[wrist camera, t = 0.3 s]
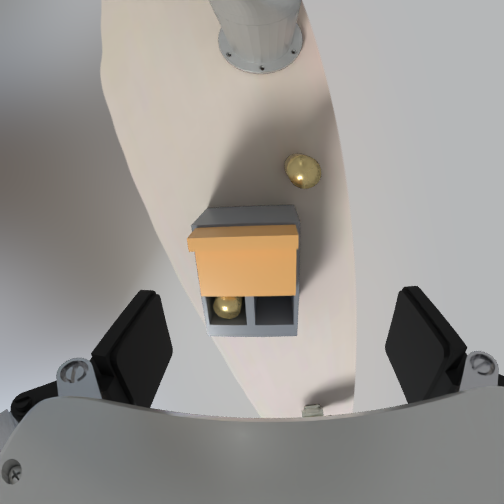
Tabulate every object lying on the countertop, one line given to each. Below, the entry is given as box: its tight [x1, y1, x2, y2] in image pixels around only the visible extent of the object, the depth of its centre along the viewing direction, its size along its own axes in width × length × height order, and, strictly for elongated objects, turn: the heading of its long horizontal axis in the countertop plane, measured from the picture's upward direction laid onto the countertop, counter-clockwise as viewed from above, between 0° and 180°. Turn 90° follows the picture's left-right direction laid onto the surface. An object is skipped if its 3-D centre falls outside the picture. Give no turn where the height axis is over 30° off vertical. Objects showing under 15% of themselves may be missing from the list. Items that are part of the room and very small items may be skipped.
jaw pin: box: [284, 154, 321, 189], centre depth 36 cm, size 4×4×9 cm
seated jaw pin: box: [213, 296, 243, 319], centre depth 44 cm, size 4×4×9 cm
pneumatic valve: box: [302, 404, 330, 417], centre depth 56 cm, size 6×12×12 cm, turn 102°
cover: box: [187, 225, 298, 297], centre depth 34 cm, size 9×12×4 cm
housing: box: [191, 205, 300, 337], centre depth 42 cm, size 18×14×10 cm
